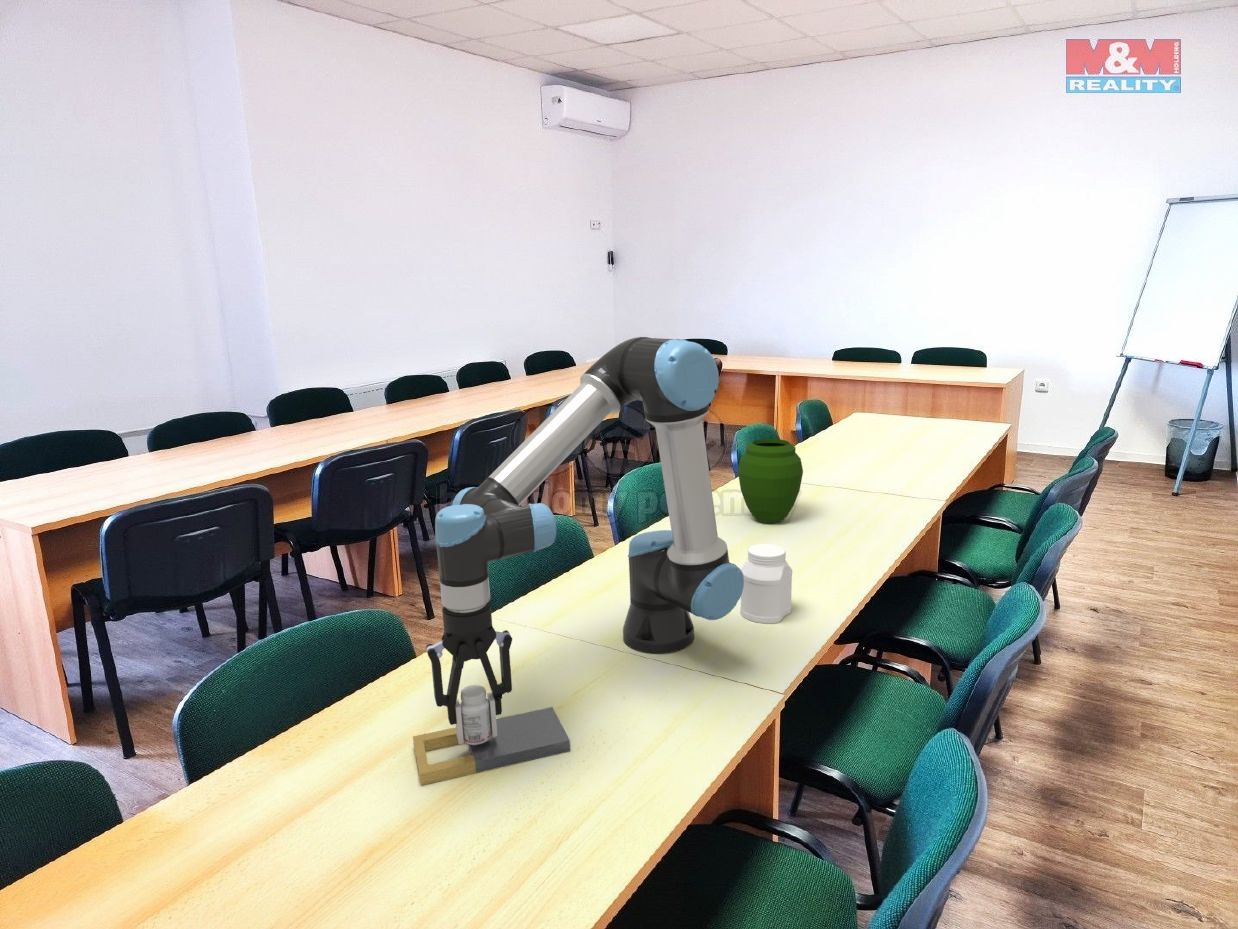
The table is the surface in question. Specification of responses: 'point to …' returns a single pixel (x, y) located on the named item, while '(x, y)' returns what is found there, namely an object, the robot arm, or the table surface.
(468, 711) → the pill bottle
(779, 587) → the jar
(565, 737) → the flat tray
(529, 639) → the table surface
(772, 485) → the vase
